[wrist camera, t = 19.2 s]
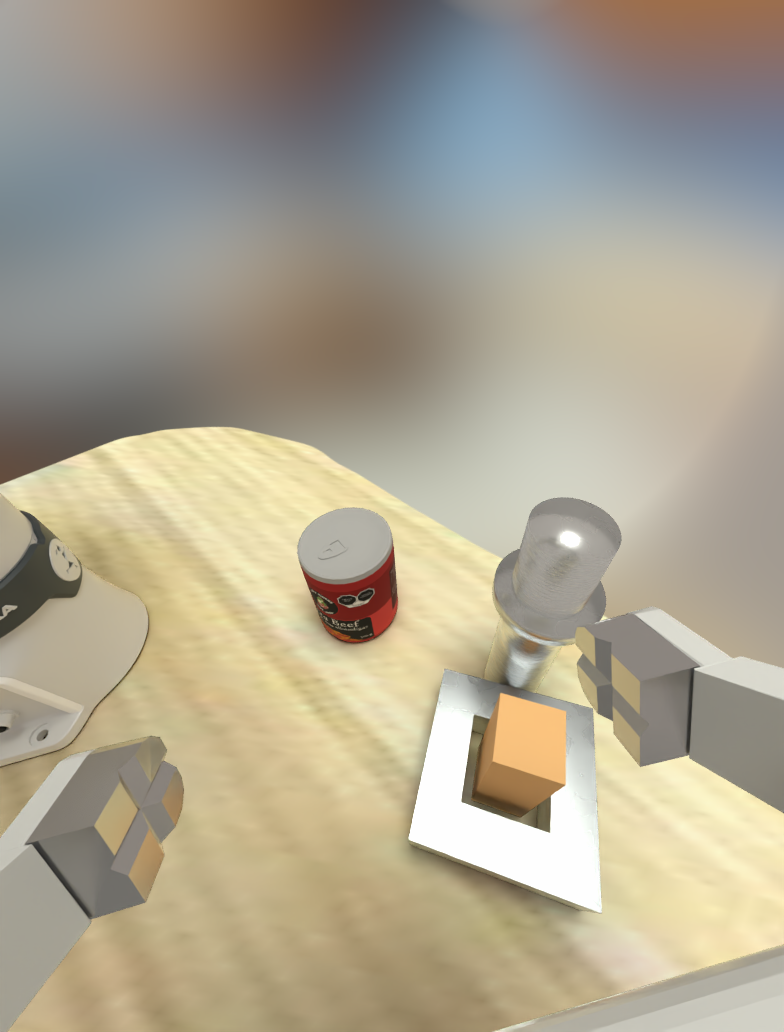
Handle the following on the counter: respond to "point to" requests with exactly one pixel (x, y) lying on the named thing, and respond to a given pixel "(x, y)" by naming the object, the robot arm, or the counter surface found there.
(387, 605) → the canned food
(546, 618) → the grey socket with post
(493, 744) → the tall orange pillar block
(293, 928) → the counter surface
